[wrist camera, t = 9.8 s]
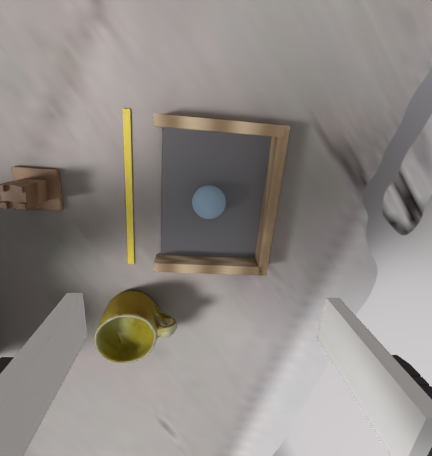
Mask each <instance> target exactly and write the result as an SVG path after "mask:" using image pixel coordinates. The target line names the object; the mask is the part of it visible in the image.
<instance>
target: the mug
mask: <svg viewBox="0 0 432 456" xmlns="http://www.w3.org/2000/svg"><path fill="white" fill-rule="evenodd" d="M158 321H159V322H161V323H163V324H165V325H166V326H161V325H160V324H159V322H158ZM176 328H177V323H176V321H175V319H173V318H172V317H171V316H168V315H166V314H164V313H162V312H161V311H160V309H159V308H158V306H157V305H156V304H155V303H154V301H153V300H152V299H151V298H150V297H149V296H148V295H146V294H144V293H142V292H139V291H126V292H122V293H120V294H118V295H116V296H115V297H114V298H113V299H112V300H111V301H110V302H109V304H108V306H107V308H106V310H105V312H104V314H103V316H102V318H101V320H100V322H99V325H98V328H97V330H96V333H95V336H94V342H95V347H96V349H97V351H98V352H99V353H100V355H101V356H102V357H104V358H106V359H108V360H110V361H113V362H117V363H130V362H134V361H137V360H140V359H142V358H144V357H146V356H147V355H148V354H149V353H150V352H151V351H152V349H153V348H154V345H155V343H156V340H157V338H158V337H170V336H171V335H172V334H173V333H174V332H175V330H176Z"/></svg>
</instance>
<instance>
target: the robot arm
mask: <svg viewBox="0 0 432 456" xmlns="http://www.w3.org/2000/svg"><path fill="white" fill-rule="evenodd" d="M86 338H87V327H86V318H85V308H84V299H83V293H67V294H66V295H65V296H64V297H63V298H62V300H61V301H60V302H59V303H58V304H57V306H56V307H55V308H54V309H53V311H52V312H51V313H50V314H49V315H48V317H47V318H46V319H45V320H44V321H43V323H42V324H41V325H40V326H39V328H38V329H37V330H36V331H35V332H34V334H33V335H32V336H31V337H30V339H29V340H28V341H27V342H26V343H25V345H24V346H23V347H22V348H21V349H20V351H19V352H18V353H17V354H16V356H15V357H1V358H0V456H23V455H24V453H25V452H26V450H27V448H28V446H29V444H30V442H31V440H32V439H33V437H34V435H35V433H36V431H37V429H38V427H39V426H40V424H41V422H42V420H43V418H44V416H45V414H46V413H47V411H48V409H49V407H50V405H51V403H52V401H53V400H54V398H55V396H56V394H57V392H58V390H59V388H60V387H61V385H62V383H63V381H64V379H65V377H66V375H67V374H68V372H69V370H70V368H71V366H72V364H73V362H74V361H75V359H76V357H77V355H78V353H79V351H80V349H81V348H82V346H83V344H84V342H85V340H86ZM317 339H318V340H319V342H320V343H321V345H322V347H323V348H324V350H325V352H326V353H327V355H328V356H329V358H330V360H331V361H332V363H333V365H334V366H335V368H336V369H337V371H338V373H339V374H340V376H341V377H342V379H343V381H344V382H345V384H346V385H347V387H348V389H349V391H350V392H351V394H352V395H353V397H354V399H355V400H356V402H357V404H358V405H359V407H360V408H361V410H362V412H363V413H364V415H365V417H366V418H367V420H368V421H369V423H370V425H371V426H372V428H373V429H374V431H375V433H376V434H377V436H378V438H379V439H380V441H381V443H382V444H383V446H384V447H385V449H386V451H387V452H388V454H389V456H432V387H430V386H429V384H428V383H427V382H426V381H425V380H424V379H423V378H422V377H421V376H420V374H419V373H418V372H417V371H416V370H415V369H414V368H413V367H412V366H411V365H410V364H409V363H407V362H406V361H404V360H403V359H402V358H400V357H399V356H397V355H391V354H390V353H389V352H388V351H387V350H386V349H385V348H384V347H383V346H382V344H381V343H380V342H379V341H378V340H377V339H376V338H375V337H374V336H373V334H371V332H370V331H369V330H368V329H367V328H366V327H365V326H364V325H363V324H362V323H361V321H360V320H359V319H358V318H357V317H356V316H355V315H354V314H353V312H352V311H351V310H350V309H349V308H348V307H347V306H346V305H345V304H344V303H343V301H342V300H341V299H340V298H326V302H325V306H324V310H323V314H322V318H321V322H320V326H319V330H318V334H317Z"/></svg>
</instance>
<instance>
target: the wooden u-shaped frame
mask: <svg viewBox="0 0 432 456" xmlns="http://www.w3.org/2000/svg"><path fill="white" fill-rule="evenodd" d="M154 126H156V127H164V128H176V129H187V130H199V131H210V132H222V133H233V134H245V135H256V136H268V137H272V138H271V145H270V152H269V159H268V166H267V174H266V181H265V188H264V195H263V202H262V209H261V216H260V223H259V231H258V238H257V245H256V252H255V259H252V258H226V257H200V256H174V255H161V254H157V255H156V258H155V261H154V272H175V273H206V274H237V275H267V269H268V263H269V256H270V250H271V244H272V238H273V231H274V225H275V219H276V213H277V206H278V200H279V194H280V188H281V181H282V175H283V169H284V163H285V157H286V150H287V144H288V138H289V132H290V126H285V125H274V124H263V123H252V122H242V121H231V120H220V119H209V118H198V117H187V116H176V115H165V114H154Z"/></svg>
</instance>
